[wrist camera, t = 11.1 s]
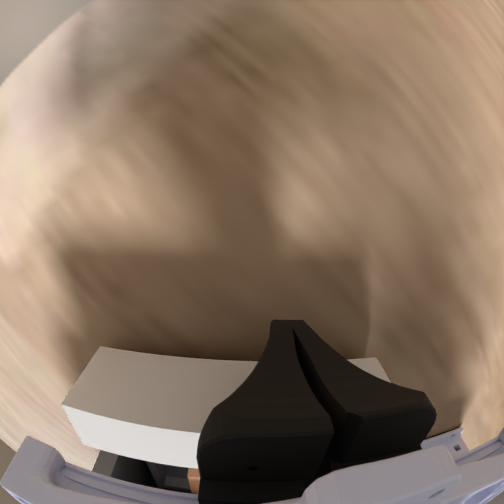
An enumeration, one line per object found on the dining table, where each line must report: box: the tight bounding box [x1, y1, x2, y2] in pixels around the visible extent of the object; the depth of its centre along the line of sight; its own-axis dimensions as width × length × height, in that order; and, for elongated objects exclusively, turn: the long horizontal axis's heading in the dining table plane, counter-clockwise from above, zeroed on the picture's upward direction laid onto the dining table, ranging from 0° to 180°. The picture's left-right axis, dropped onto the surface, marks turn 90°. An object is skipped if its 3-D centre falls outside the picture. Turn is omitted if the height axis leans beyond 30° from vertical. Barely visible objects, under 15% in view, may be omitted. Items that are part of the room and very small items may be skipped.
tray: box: [61, 346, 391, 492], centre depth 13 cm, size 14×14×5 cm
